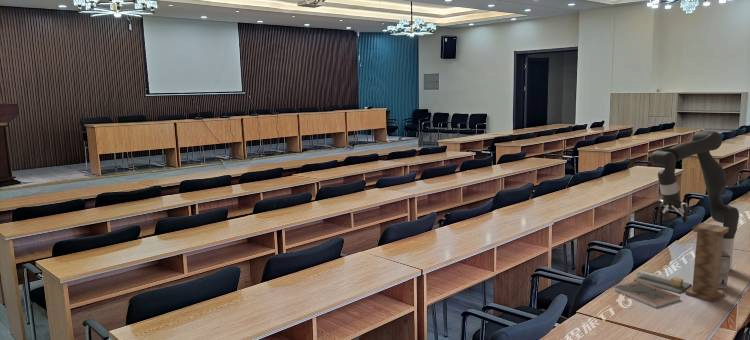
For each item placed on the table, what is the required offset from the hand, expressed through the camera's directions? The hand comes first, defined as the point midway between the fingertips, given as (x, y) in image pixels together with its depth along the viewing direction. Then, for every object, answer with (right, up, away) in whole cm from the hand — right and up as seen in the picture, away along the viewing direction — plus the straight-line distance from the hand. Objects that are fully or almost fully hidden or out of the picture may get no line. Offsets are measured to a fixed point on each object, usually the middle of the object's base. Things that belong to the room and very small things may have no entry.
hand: (676, 220), depth 257 cm
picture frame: (-19, -34, -9) cm, 40 cm away
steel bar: (-6, -30, +4) cm, 31 cm away
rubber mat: (-5, -31, +4) cm, 31 cm away
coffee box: (+19, -31, +1) cm, 36 cm away
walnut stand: (+7, -33, -10) cm, 35 cm away
